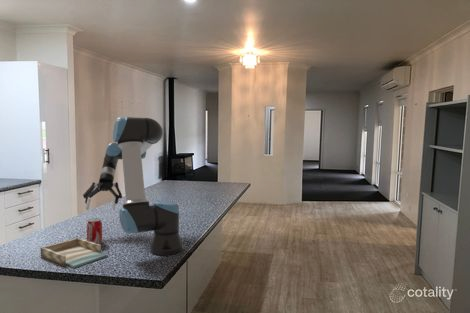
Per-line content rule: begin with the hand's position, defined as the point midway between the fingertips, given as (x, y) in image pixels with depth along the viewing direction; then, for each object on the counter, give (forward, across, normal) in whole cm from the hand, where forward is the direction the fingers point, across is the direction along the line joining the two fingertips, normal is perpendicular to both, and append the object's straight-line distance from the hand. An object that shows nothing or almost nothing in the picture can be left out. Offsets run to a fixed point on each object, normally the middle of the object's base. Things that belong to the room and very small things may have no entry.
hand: (100, 208), depth 183 cm
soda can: (+18, 0, -3) cm, 19 cm away
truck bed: (+31, +3, +10) cm, 33 cm away
